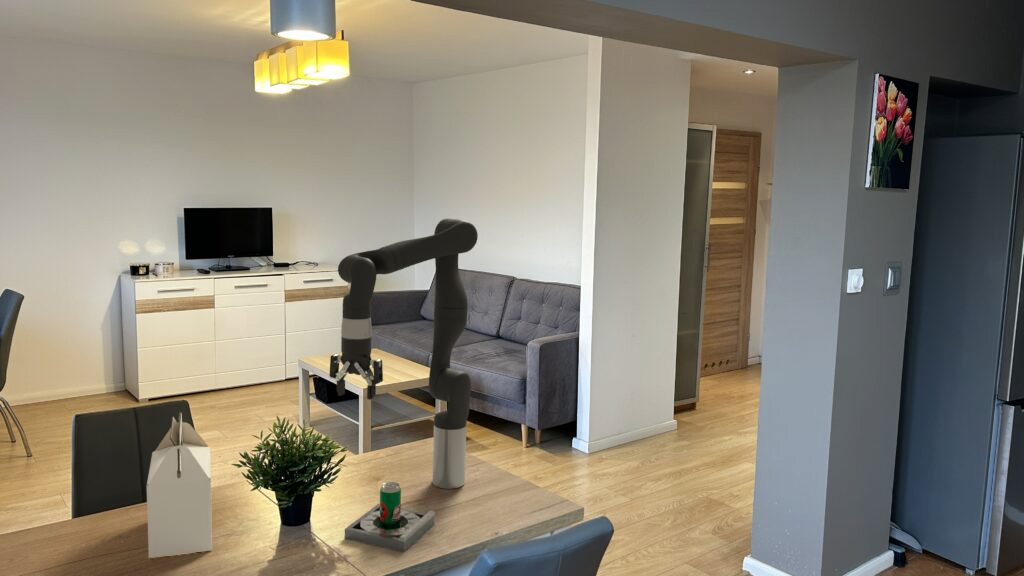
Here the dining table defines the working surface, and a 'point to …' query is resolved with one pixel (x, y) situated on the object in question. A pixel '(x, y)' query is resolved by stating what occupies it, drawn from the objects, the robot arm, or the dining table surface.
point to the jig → (390, 539)
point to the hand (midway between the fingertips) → (355, 396)
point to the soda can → (390, 506)
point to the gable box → (179, 493)
